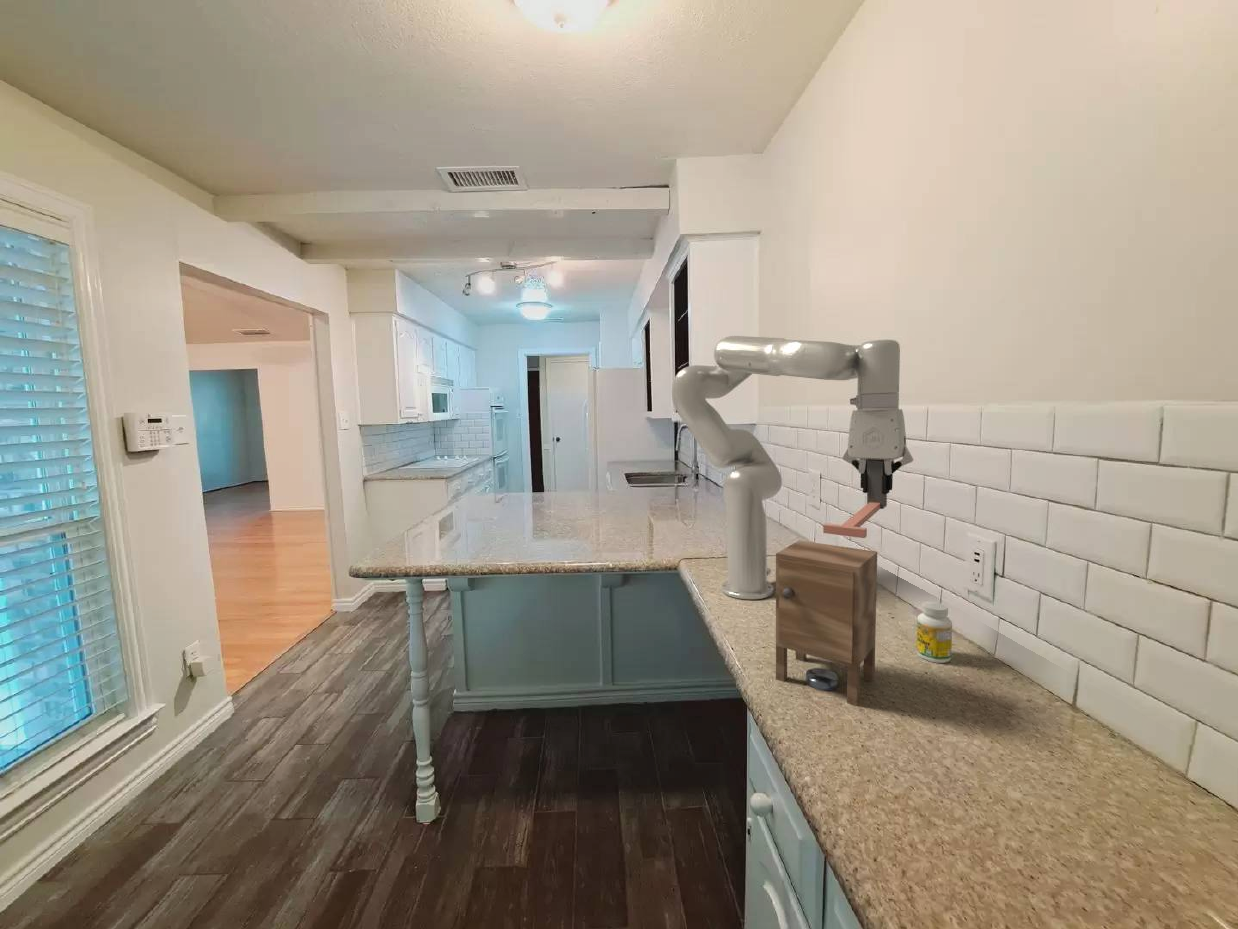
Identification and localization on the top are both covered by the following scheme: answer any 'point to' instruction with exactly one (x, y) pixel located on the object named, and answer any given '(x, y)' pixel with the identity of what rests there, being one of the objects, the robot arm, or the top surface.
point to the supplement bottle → (934, 633)
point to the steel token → (822, 679)
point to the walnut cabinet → (827, 608)
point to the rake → (873, 505)
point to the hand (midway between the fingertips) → (876, 491)
